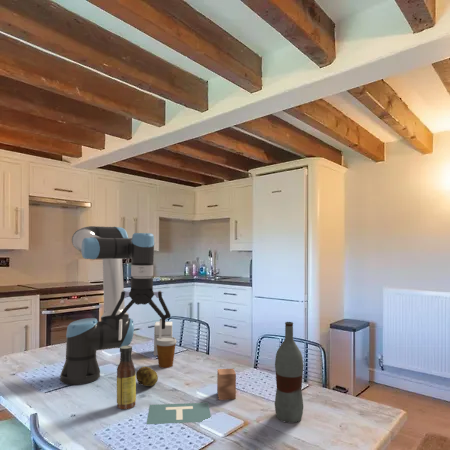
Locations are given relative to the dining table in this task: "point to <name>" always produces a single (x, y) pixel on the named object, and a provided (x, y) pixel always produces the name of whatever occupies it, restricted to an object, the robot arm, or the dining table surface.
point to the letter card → (178, 413)
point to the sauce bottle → (126, 379)
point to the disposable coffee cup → (166, 351)
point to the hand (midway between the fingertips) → (140, 338)
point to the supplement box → (165, 333)
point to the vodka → (289, 379)
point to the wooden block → (226, 384)
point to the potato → (146, 376)
